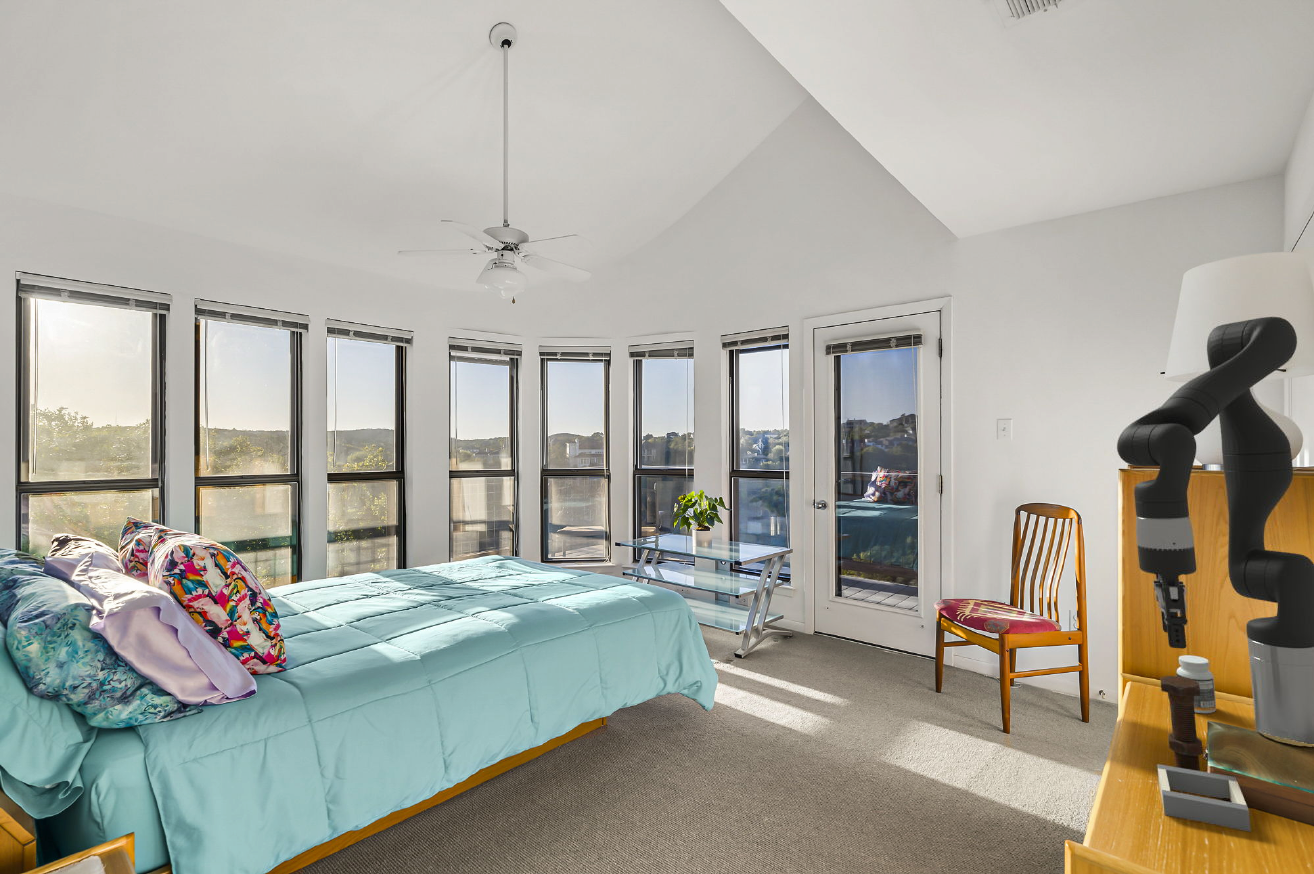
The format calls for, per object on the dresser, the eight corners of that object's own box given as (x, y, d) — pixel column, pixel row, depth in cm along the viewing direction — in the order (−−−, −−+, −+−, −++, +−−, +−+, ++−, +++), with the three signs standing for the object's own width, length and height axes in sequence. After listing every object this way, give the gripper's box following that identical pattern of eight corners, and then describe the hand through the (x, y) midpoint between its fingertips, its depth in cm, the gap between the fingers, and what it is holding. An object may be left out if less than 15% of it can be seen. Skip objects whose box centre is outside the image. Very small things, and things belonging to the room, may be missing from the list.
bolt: (1209, 782, 103) (1200, 689, 103) (1169, 775, 106) (1160, 684, 106) (1206, 766, 108) (1197, 677, 108) (1168, 759, 111) (1160, 672, 111)
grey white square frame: (1158, 782, 104) (1157, 763, 104) (1237, 796, 99) (1235, 776, 99) (1164, 814, 96) (1162, 794, 96) (1250, 831, 91) (1248, 810, 91)
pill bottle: (1179, 700, 133) (1175, 652, 133) (1216, 705, 129) (1211, 656, 129) (1179, 710, 128) (1174, 661, 128) (1217, 716, 125) (1212, 665, 125)
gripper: (1200, 551, 99) (1211, 655, 99) (1187, 536, 111) (1196, 629, 111) (1140, 550, 104) (1150, 650, 103) (1134, 535, 115) (1142, 625, 115)
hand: (1174, 639), depth 107 cm, fingers open, 8 cm apart
